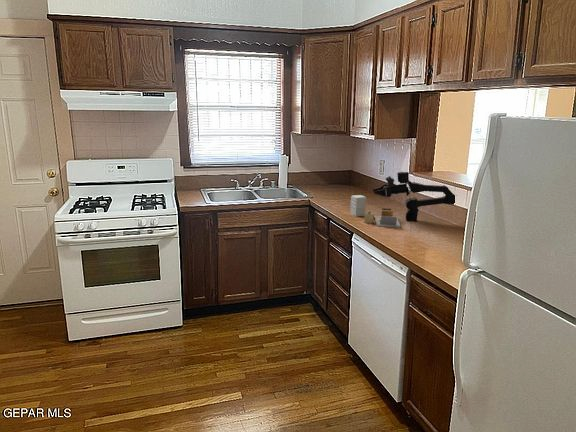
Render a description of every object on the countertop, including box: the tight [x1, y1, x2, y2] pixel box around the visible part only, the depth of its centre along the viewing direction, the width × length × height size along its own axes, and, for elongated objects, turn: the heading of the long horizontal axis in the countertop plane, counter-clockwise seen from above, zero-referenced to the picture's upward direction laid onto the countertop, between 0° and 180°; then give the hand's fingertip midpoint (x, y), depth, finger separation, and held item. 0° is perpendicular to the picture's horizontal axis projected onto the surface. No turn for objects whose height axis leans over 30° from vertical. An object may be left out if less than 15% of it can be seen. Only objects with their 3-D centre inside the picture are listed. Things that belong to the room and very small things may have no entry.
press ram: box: [380, 207, 394, 217], centre depth 280 cm, size 7×8×5 cm
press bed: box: [374, 215, 401, 228], centre depth 274 cm, size 14×22×6 cm, turn 172°
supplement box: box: [349, 194, 367, 217], centre depth 290 cm, size 7×7×13 cm
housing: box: [363, 210, 374, 224], centre depth 272 cm, size 5×5×7 cm
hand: (373, 191), depth 279 cm, fingers open, 9 cm apart
